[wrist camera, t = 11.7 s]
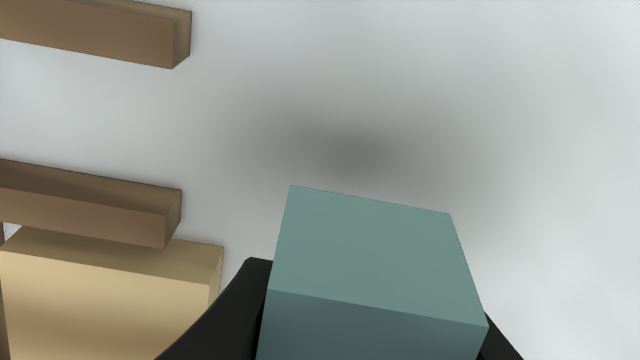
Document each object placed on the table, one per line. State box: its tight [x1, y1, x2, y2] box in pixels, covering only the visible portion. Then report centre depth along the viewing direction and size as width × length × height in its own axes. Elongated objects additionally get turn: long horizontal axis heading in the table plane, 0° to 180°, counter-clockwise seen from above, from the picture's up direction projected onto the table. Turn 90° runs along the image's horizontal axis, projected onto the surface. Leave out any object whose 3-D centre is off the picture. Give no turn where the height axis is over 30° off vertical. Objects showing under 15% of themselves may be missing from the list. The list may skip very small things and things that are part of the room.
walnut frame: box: [0, 0, 192, 360], centre depth 21 cm, size 20×9×2 cm, turn 170°
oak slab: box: [0, 225, 224, 360], centre depth 22 cm, size 8×8×3 cm
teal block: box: [256, 185, 489, 360], centre depth 12 cm, size 4×4×4 cm
